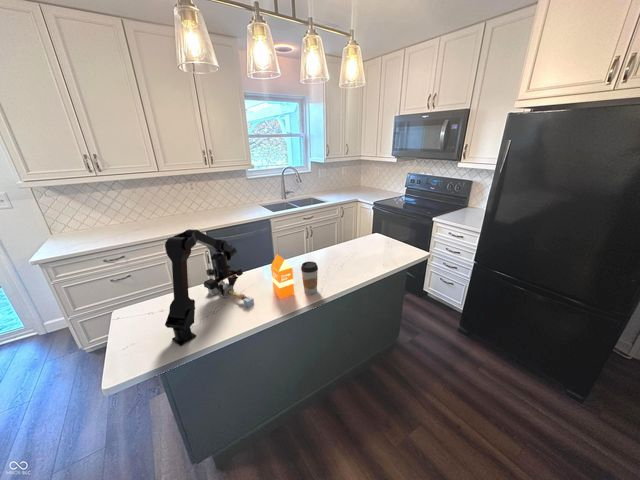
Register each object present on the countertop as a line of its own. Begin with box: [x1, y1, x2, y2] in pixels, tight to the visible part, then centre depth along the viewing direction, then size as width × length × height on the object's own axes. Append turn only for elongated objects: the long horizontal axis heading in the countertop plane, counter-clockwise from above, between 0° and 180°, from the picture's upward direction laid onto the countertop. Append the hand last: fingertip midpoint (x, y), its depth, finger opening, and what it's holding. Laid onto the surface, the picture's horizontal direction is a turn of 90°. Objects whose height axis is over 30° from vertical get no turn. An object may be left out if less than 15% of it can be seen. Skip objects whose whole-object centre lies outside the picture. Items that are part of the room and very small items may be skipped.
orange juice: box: [270, 254, 295, 300], centre depth 127 cm, size 8×9×20 cm
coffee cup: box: [300, 261, 319, 295], centre depth 128 cm, size 8×8×15 cm
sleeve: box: [218, 282, 235, 298], centre depth 129 cm, size 5×5×4 cm
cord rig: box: [207, 280, 255, 309], centre depth 127 cm, size 28×8×5 cm, turn 56°
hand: (226, 292), depth 130 cm, fingers closed on sleeve, 5 cm apart
